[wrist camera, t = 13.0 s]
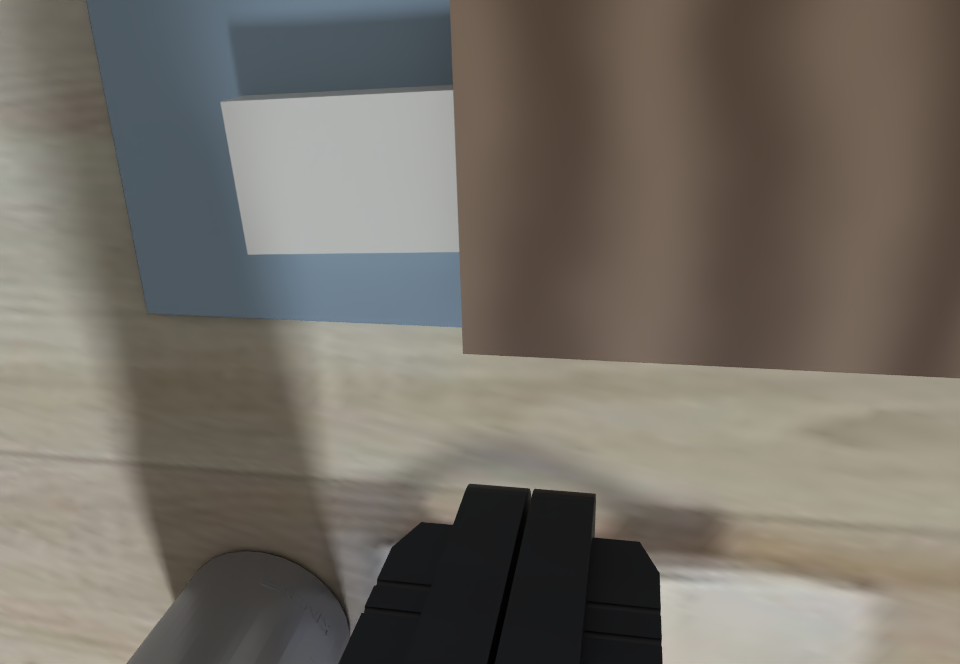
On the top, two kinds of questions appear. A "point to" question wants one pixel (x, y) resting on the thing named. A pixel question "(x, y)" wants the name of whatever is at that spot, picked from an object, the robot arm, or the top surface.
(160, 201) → the mat
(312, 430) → the top surface
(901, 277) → the deck
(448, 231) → the white rectangular block
